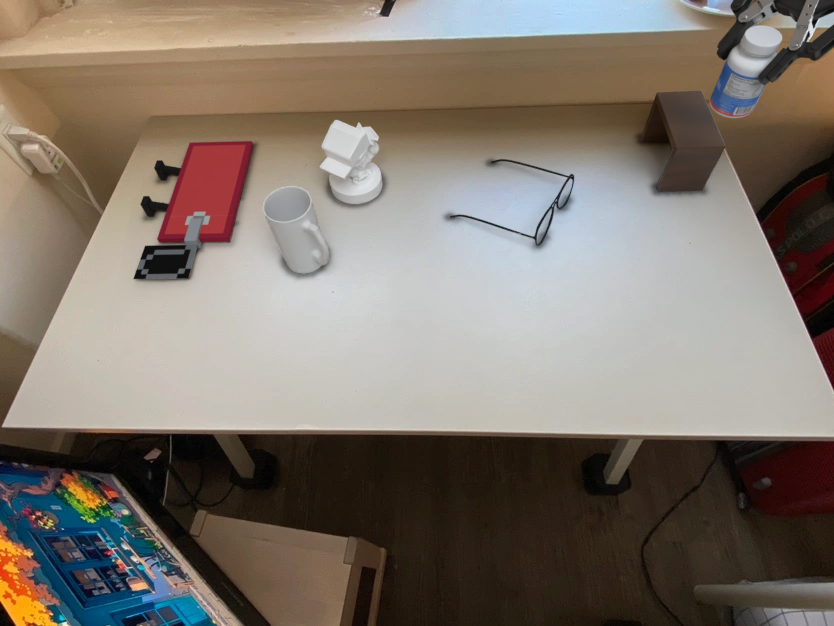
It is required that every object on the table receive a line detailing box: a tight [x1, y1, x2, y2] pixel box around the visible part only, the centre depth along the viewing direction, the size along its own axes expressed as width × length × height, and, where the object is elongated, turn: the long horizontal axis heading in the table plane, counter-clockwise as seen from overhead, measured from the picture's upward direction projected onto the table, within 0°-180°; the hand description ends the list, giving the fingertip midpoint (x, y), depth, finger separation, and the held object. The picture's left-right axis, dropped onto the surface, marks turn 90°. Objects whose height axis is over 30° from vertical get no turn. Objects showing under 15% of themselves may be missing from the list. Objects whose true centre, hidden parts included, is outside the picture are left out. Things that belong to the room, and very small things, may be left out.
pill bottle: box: [709, 25, 783, 119], centre depth 68 cm, size 6×5×10 cm
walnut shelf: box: [640, 89, 727, 193], centre depth 89 cm, size 13×7×9 cm, turn 0°
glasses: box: [449, 158, 575, 247], centre depth 88 cm, size 14×15×5 cm
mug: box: [262, 185, 330, 274], centre depth 80 cm, size 10×7×12 cm, turn 48°
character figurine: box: [319, 119, 383, 205], centre depth 89 cm, size 9×10×12 cm
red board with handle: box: [132, 140, 254, 280], centre depth 92 cm, size 30×3×15 cm
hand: (740, 68), depth 66 cm, fingers closed on pill bottle, 5 cm apart
